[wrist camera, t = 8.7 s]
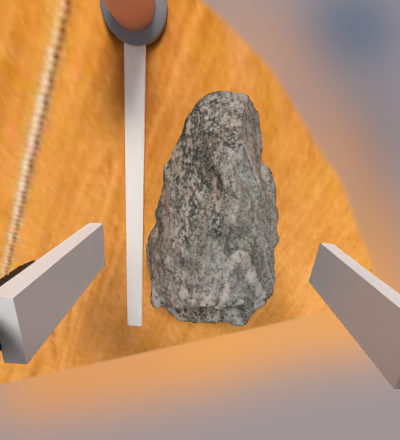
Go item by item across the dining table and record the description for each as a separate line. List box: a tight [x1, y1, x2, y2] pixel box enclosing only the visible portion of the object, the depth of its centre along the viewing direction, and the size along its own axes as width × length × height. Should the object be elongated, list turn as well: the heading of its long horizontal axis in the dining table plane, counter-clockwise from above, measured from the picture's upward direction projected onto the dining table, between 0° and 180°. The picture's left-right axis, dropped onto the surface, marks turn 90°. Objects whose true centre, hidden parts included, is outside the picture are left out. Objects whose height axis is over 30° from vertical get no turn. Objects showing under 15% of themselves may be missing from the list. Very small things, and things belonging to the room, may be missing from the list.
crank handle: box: [100, 0, 168, 326], centre depth 16 cm, size 4×30×8 cm, turn 175°
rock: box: [146, 91, 279, 326], centre depth 17 cm, size 18×10×10 cm
